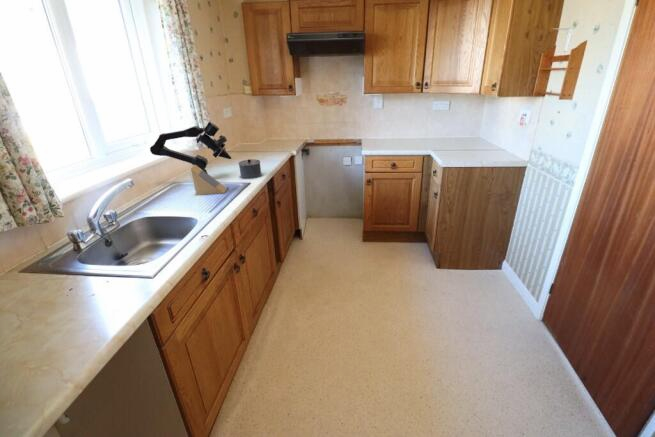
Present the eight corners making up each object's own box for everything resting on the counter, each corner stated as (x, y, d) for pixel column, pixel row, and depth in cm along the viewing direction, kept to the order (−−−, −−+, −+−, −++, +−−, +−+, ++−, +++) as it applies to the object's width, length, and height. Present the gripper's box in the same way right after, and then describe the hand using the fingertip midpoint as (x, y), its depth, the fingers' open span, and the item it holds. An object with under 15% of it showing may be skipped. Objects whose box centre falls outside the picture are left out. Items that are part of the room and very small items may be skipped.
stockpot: (236, 178, 203) (233, 161, 198) (246, 172, 215) (244, 156, 210) (256, 179, 199) (253, 162, 195) (265, 173, 211) (263, 156, 207)
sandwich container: (224, 193, 177) (219, 166, 171) (196, 195, 176) (190, 168, 170) (227, 188, 185) (223, 162, 179) (200, 190, 184) (195, 164, 178)
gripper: (214, 134, 185) (237, 151, 191) (219, 129, 202) (240, 145, 208) (203, 149, 187) (226, 166, 193) (208, 143, 204) (229, 159, 210)
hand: (231, 158), depth 201 cm, fingers closed
